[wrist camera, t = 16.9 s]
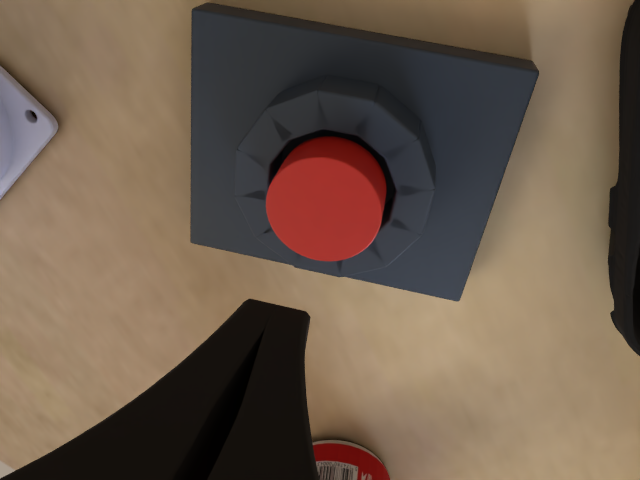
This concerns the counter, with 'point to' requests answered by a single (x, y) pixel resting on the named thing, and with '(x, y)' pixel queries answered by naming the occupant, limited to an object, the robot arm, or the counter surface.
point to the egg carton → (627, 191)
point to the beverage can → (347, 462)
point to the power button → (327, 199)
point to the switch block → (352, 137)
